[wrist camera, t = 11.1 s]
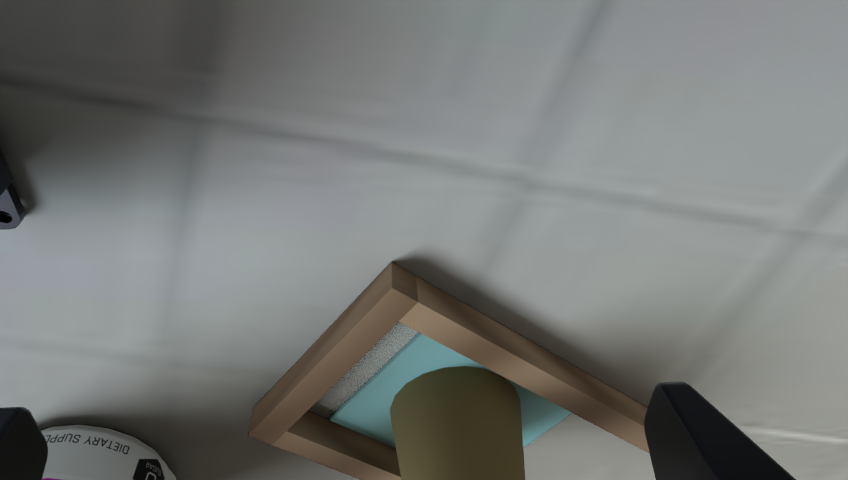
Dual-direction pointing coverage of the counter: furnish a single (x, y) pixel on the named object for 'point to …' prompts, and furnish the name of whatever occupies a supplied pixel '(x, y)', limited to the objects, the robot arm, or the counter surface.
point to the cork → (458, 426)
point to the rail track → (429, 350)
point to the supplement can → (100, 456)
